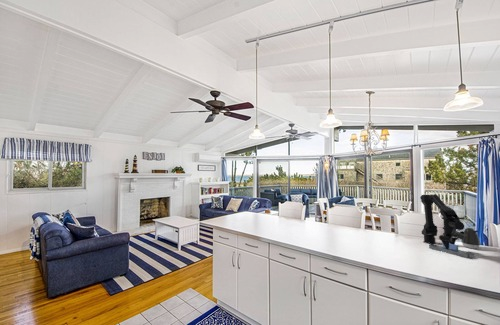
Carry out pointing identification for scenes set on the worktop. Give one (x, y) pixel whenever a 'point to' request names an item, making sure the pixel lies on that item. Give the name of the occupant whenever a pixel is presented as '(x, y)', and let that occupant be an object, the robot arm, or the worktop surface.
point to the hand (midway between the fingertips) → (450, 248)
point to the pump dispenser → (471, 239)
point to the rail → (450, 251)
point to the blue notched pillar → (451, 247)
